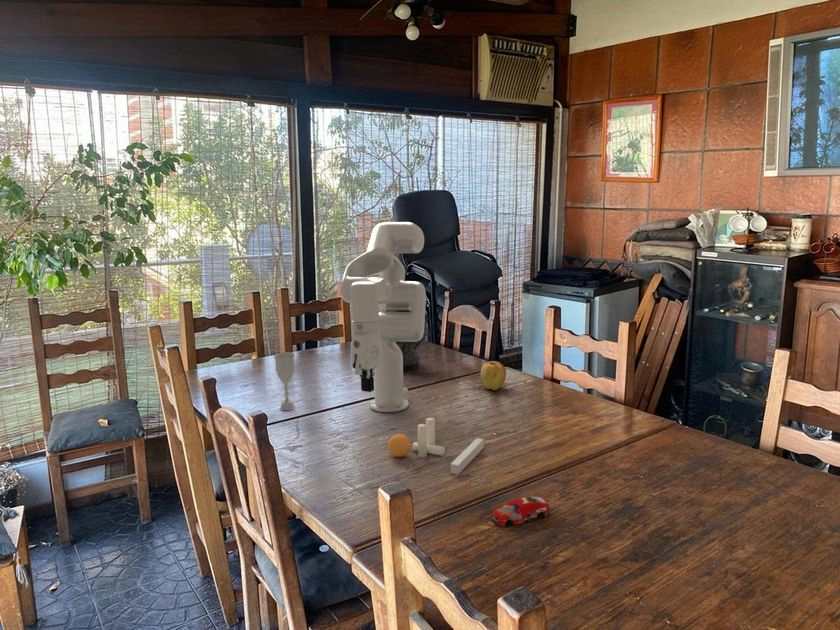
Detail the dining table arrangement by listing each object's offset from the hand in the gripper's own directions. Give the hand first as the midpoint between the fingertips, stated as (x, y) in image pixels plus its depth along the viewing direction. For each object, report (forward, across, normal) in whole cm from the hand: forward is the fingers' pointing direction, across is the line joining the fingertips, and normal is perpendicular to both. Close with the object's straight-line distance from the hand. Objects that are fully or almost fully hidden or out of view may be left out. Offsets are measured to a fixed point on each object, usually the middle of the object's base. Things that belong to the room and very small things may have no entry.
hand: (367, 390), depth 174 cm
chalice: (+15, +13, +39) cm, 44 cm away
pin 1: (+15, -2, -18) cm, 24 cm away
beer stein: (+15, +72, +27) cm, 78 cm away
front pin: (+14, 0, -14) cm, 20 cm away
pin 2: (+15, +2, -18) cm, 24 cm away
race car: (+16, -22, -51) cm, 58 cm away
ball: (+12, -5, -12) cm, 18 cm away
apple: (+15, +59, -16) cm, 63 cm away
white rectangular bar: (+15, 0, -30) cm, 34 cm away
